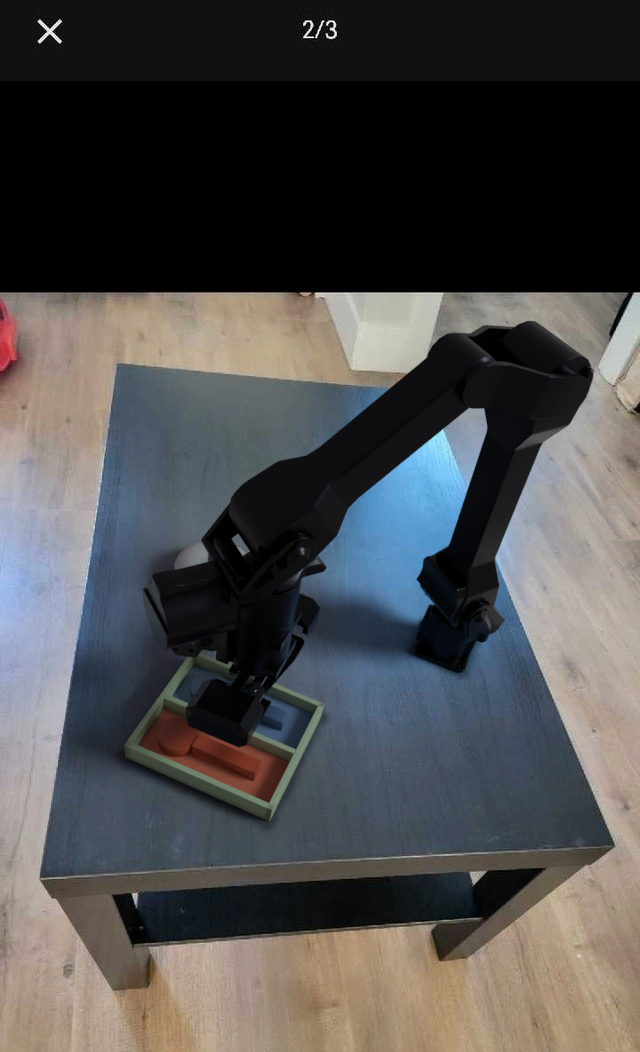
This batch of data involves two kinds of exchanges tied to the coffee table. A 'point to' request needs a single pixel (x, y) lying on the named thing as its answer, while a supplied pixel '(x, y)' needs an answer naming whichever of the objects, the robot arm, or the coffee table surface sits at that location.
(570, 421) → the robot arm
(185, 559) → the donut
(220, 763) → the red spoon
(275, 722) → the blue spoon
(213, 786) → the tray
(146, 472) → the coffee table surface
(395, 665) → the coffee table surface
